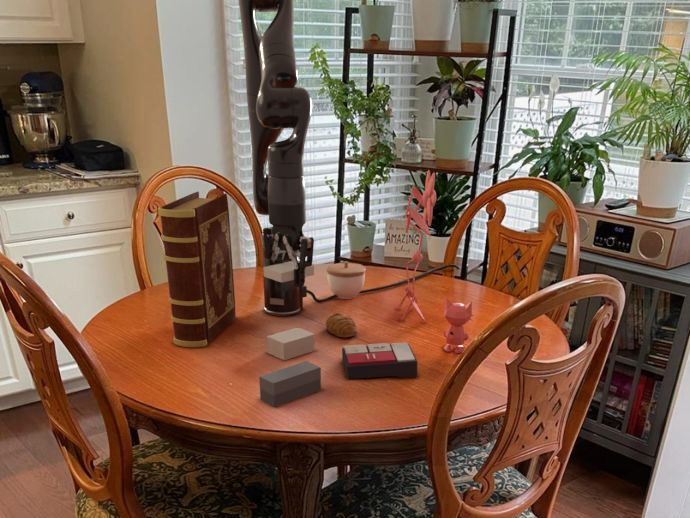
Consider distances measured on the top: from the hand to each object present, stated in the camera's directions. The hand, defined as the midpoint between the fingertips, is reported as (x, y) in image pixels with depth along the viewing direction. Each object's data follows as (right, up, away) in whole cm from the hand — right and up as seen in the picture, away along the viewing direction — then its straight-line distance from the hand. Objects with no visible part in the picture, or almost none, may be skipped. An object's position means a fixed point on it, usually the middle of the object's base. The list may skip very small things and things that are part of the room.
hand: (289, 282), depth 152 cm
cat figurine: (+37, -12, +13) cm, 41 cm away
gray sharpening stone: (+1, -25, -10) cm, 27 cm away
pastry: (+11, -6, +22) cm, 25 cm away
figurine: (+32, +1, +34) cm, 47 cm away
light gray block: (-1, -13, +10) cm, 16 cm away
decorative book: (-22, -6, +20) cm, 31 cm away
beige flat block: (0, +1, -1) cm, 1 cm away
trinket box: (+11, +9, +48) cm, 50 cm away
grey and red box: (+19, -18, +3) cm, 27 cm away
